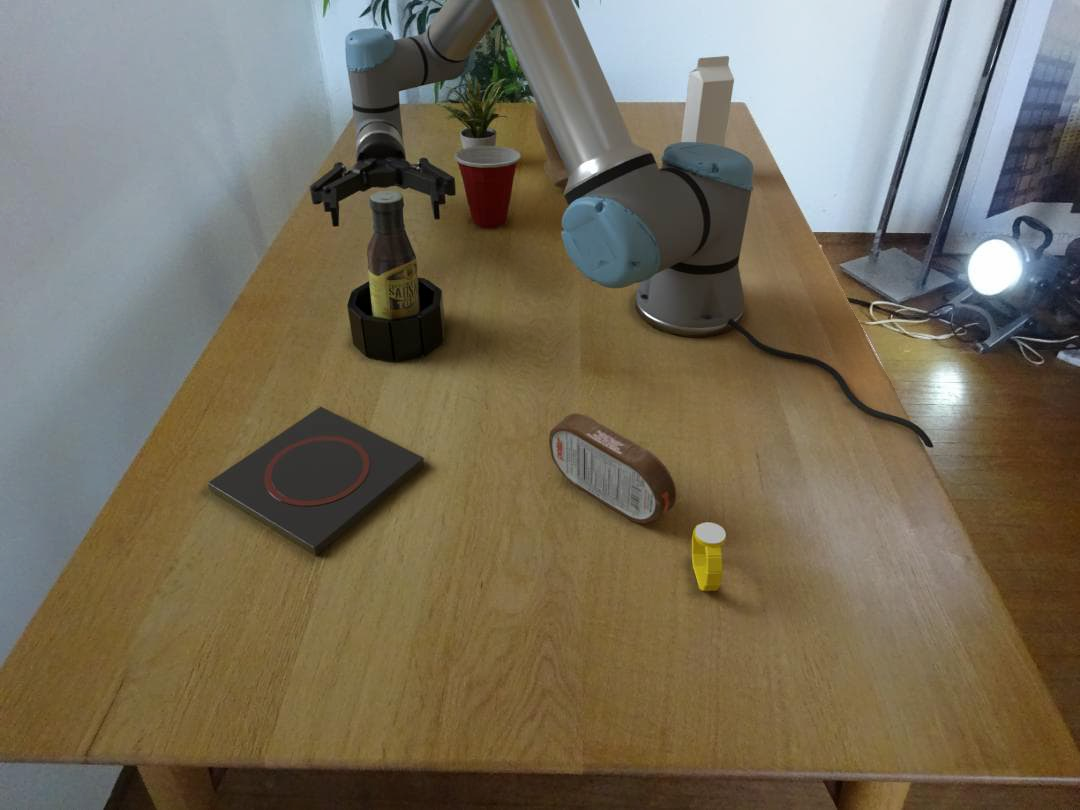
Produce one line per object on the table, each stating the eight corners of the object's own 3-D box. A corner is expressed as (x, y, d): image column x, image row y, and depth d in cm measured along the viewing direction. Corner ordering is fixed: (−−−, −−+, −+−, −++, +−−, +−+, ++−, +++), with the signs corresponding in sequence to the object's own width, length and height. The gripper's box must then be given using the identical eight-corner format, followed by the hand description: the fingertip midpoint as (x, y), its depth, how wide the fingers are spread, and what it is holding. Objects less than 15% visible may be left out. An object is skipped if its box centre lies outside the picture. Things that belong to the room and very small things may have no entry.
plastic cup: (524, 209, 142) (524, 142, 135) (517, 236, 134) (516, 166, 126) (463, 206, 143) (460, 139, 136) (452, 233, 134) (448, 163, 127)
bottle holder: (463, 329, 111) (460, 291, 107) (401, 372, 103) (396, 332, 99) (397, 304, 116) (393, 266, 112) (334, 343, 108) (327, 304, 104)
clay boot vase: (530, 166, 158) (530, 87, 149) (590, 163, 160) (593, 85, 150) (542, 197, 146) (543, 114, 137) (606, 194, 148) (611, 111, 139)
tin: (673, 525, 82) (683, 463, 77) (655, 542, 80) (663, 479, 75) (562, 458, 90) (564, 397, 85) (543, 472, 88) (544, 411, 83)
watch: (724, 602, 74) (734, 558, 70) (694, 603, 74) (703, 559, 70) (710, 552, 79) (718, 509, 75) (682, 553, 79) (689, 510, 75)
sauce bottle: (398, 354, 106) (381, 212, 94) (365, 338, 109) (345, 199, 97) (433, 333, 110) (421, 195, 98) (400, 318, 113) (385, 182, 101)
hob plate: (424, 465, 89) (423, 456, 88) (316, 556, 78) (313, 547, 77) (322, 414, 96) (320, 405, 95) (209, 491, 85) (206, 481, 84)
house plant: (477, 144, 168) (473, 61, 158) (530, 158, 161) (530, 73, 152) (431, 164, 159) (424, 78, 149) (486, 180, 152) (482, 91, 142)
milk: (718, 183, 152) (738, 60, 139) (689, 186, 151) (706, 63, 137) (705, 171, 157) (722, 51, 143) (676, 174, 156) (691, 53, 142)
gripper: (462, 174, 129) (479, 232, 113) (302, 184, 125) (295, 245, 109) (460, 127, 125) (477, 181, 108) (294, 136, 121) (285, 193, 104)
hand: (386, 213), depth 109 cm, fingers open, 13 cm apart
